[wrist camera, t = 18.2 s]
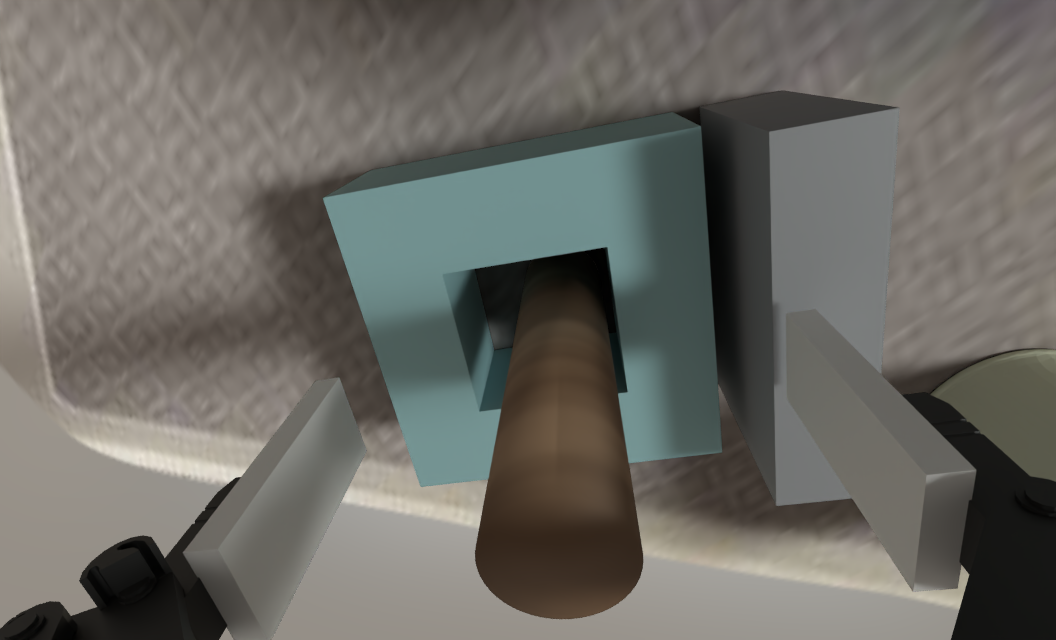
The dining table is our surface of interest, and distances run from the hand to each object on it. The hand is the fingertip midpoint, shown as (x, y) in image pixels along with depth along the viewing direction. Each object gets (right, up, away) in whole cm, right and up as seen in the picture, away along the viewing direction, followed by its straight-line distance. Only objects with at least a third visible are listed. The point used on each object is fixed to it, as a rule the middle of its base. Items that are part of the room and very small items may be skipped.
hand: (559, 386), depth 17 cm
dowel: (+1, +4, +8) cm, 9 cm away
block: (0, +4, +8) cm, 9 cm away
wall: (+8, +5, +7) cm, 12 cm away
